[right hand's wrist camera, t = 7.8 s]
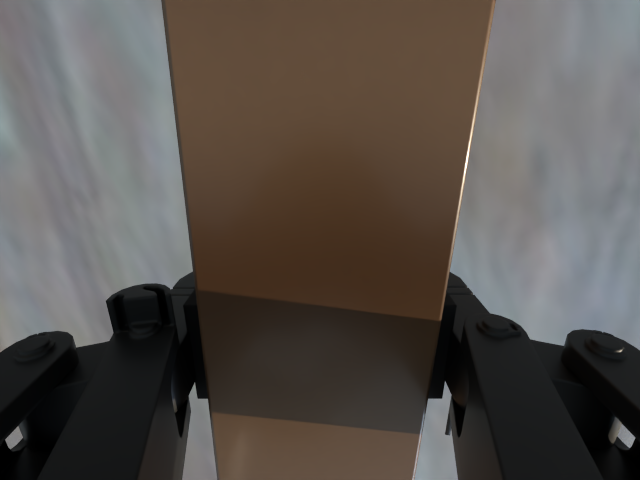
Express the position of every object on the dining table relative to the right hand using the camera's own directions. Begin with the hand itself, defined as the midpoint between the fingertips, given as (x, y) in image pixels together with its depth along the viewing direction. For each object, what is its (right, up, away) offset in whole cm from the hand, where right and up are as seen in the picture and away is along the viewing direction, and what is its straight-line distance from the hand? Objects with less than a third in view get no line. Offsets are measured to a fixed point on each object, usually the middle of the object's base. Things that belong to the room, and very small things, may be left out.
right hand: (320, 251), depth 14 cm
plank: (0, +19, -6) cm, 20 cm away
